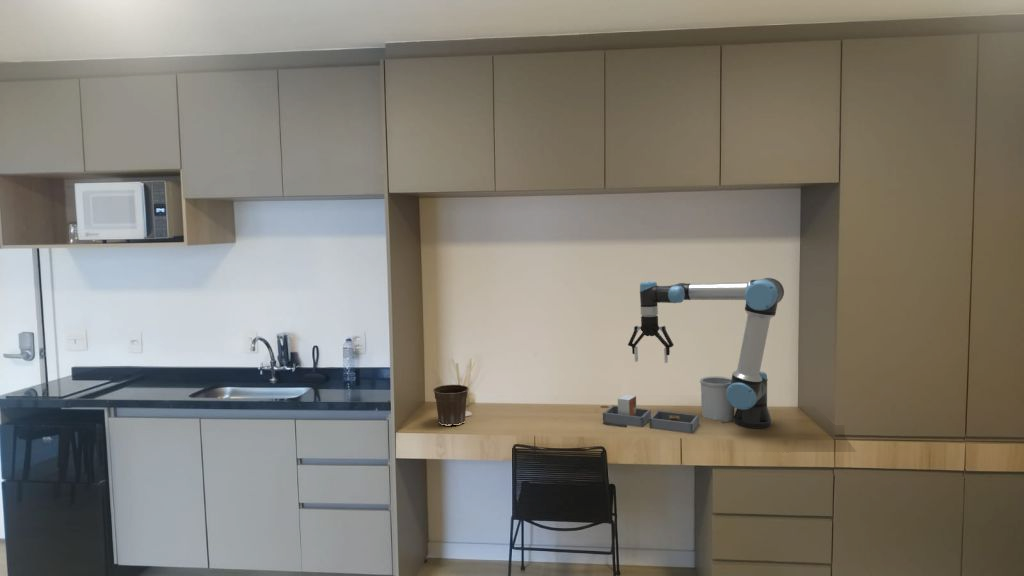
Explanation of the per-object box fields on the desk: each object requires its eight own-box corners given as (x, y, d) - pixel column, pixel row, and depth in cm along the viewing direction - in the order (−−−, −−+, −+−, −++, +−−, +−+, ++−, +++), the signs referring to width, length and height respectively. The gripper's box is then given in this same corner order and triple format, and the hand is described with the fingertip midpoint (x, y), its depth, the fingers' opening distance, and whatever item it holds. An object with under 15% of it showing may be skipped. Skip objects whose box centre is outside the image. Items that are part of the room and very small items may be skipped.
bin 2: (699, 426, 253) (698, 415, 252) (692, 435, 242) (692, 423, 241) (657, 421, 262) (657, 410, 261) (649, 430, 250) (649, 418, 250)
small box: (629, 423, 257) (629, 400, 256) (617, 421, 260) (617, 398, 259) (636, 418, 263) (636, 395, 262) (625, 416, 267) (624, 394, 266)
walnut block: (679, 424, 253) (679, 415, 253) (679, 427, 249) (679, 418, 249) (669, 424, 254) (669, 415, 254) (669, 427, 250) (669, 418, 250)
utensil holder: (700, 421, 259) (700, 383, 258) (700, 412, 273) (699, 375, 272) (736, 423, 255) (736, 384, 253) (733, 413, 269) (733, 376, 267)
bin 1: (651, 420, 263) (650, 409, 263) (642, 429, 252) (642, 417, 251) (612, 415, 272) (612, 405, 271) (603, 424, 261) (602, 413, 260)
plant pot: (476, 419, 273) (474, 385, 272) (458, 430, 259) (457, 394, 258) (446, 416, 280) (444, 383, 279) (427, 426, 266) (426, 391, 264)
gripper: (679, 314, 262) (680, 361, 264) (624, 314, 274) (626, 359, 275) (675, 316, 256) (677, 364, 257) (620, 316, 267) (622, 362, 268)
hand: (651, 361), depth 266 cm, fingers open, 13 cm apart
